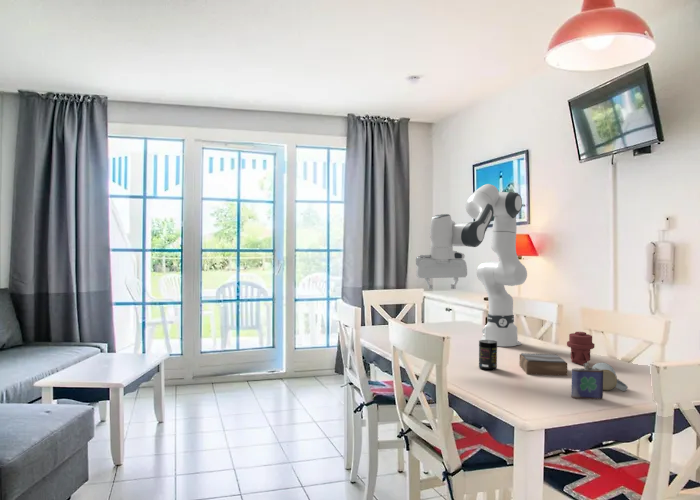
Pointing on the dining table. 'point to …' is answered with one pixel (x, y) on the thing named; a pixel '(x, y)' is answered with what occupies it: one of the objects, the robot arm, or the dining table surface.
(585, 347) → the mechanical component
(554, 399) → the dining table surface
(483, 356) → the supplement container
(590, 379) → the flask
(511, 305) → the robot arm
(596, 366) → the ceramic mug
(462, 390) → the dining table surface
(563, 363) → the walnut stand
